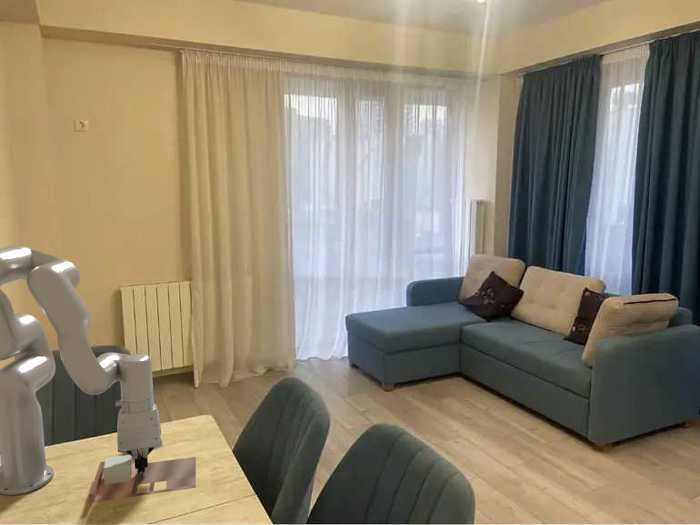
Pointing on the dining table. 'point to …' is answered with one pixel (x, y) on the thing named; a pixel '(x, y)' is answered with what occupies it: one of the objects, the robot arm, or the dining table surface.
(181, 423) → the dining table surface
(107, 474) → the sage block
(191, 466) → the track
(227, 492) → the dining table surface
